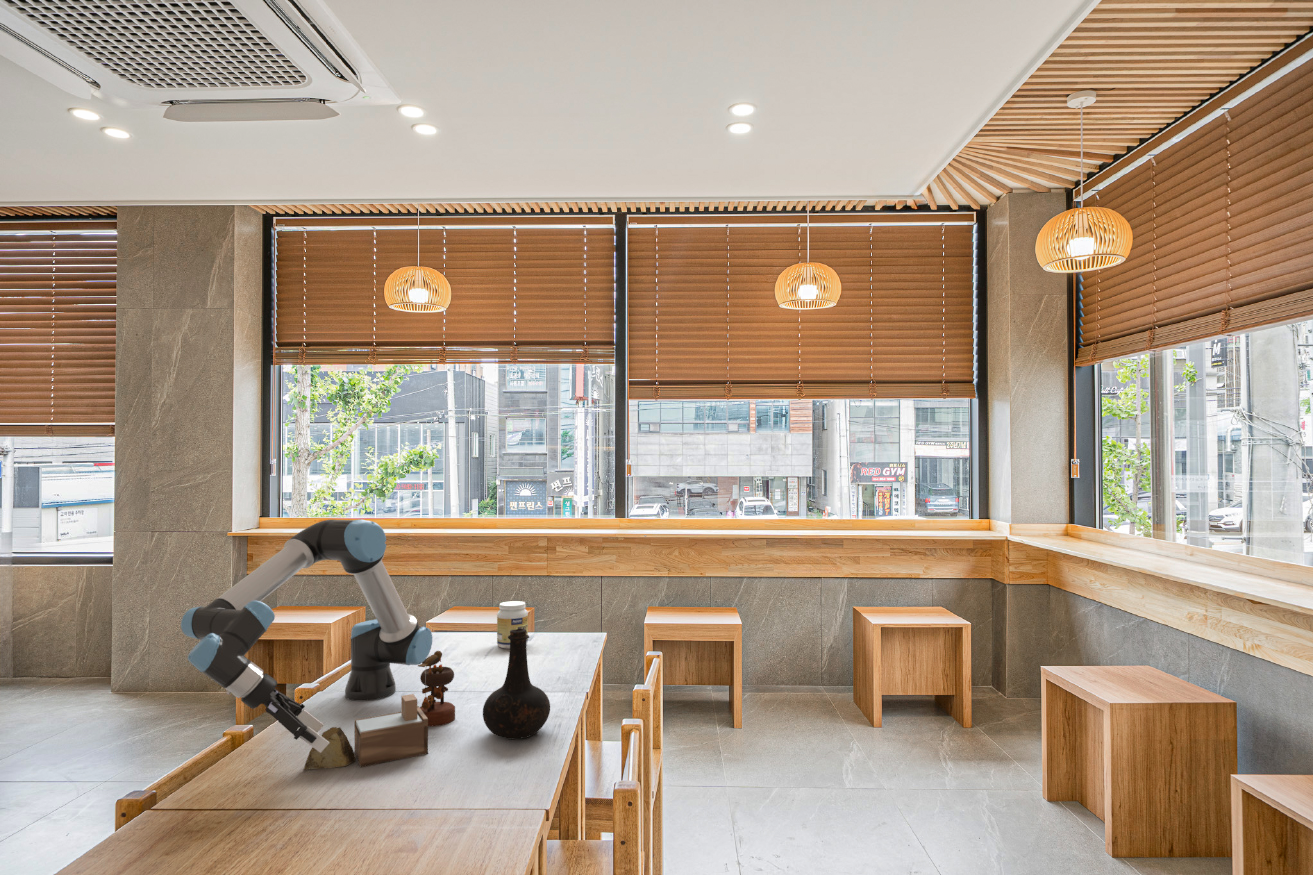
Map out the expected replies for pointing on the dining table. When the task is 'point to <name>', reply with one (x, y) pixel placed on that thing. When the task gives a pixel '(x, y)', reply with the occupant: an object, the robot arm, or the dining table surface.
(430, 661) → the wooden bird figurine
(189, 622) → the robot arm
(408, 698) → the lid
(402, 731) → the box
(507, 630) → the supplement tub
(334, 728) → the rock
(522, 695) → the glass bottle
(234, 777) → the dining table surface
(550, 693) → the dining table surface
